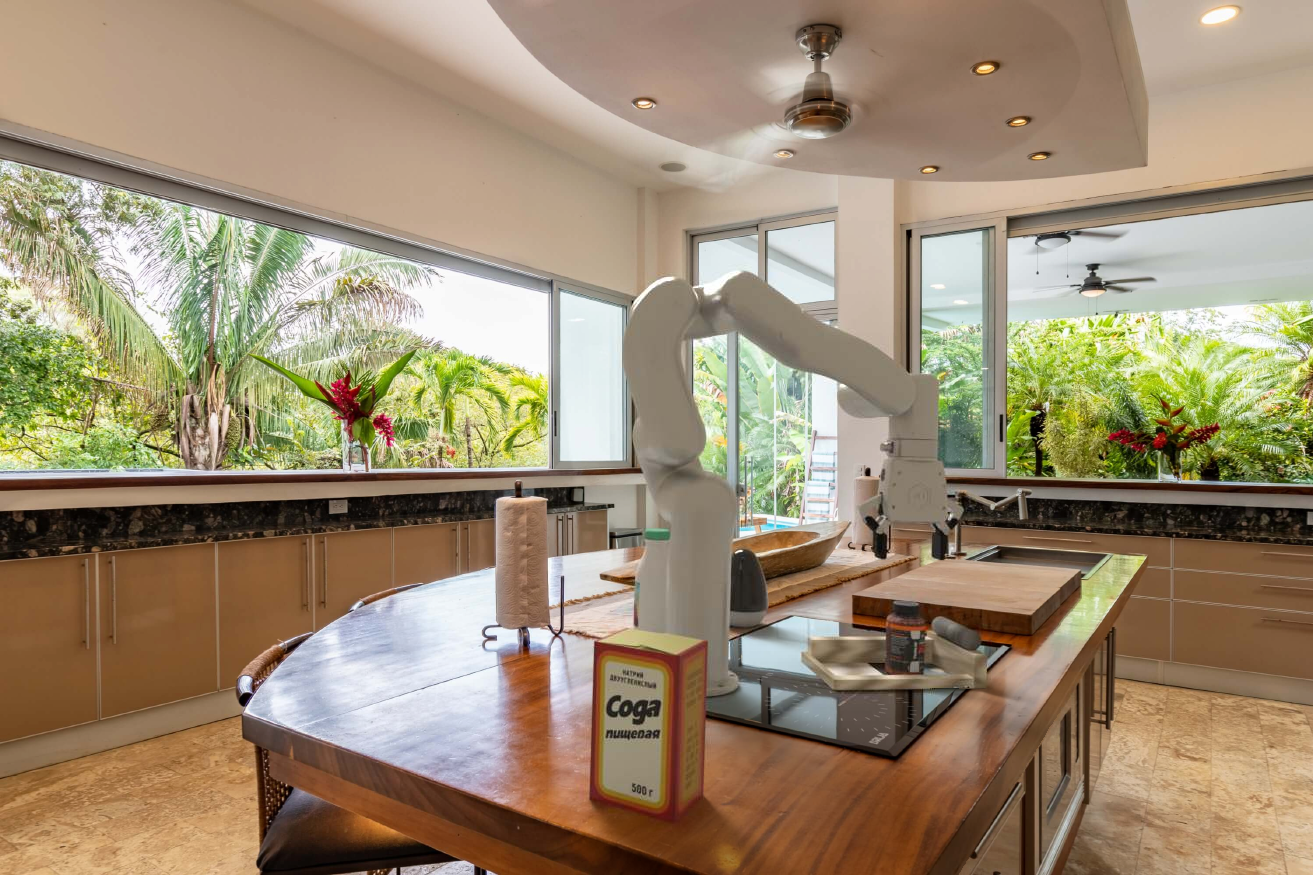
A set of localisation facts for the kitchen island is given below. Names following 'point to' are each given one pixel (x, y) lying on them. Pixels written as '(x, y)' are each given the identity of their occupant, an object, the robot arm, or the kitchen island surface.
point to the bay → (850, 670)
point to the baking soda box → (648, 722)
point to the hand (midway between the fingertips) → (909, 558)
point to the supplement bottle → (905, 640)
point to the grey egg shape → (747, 590)
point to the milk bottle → (652, 583)
